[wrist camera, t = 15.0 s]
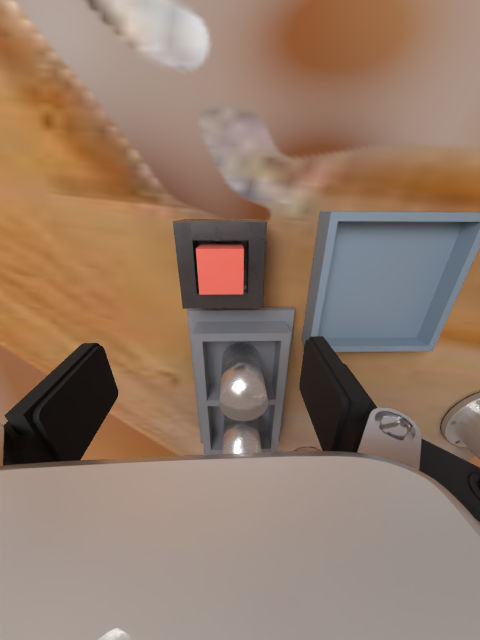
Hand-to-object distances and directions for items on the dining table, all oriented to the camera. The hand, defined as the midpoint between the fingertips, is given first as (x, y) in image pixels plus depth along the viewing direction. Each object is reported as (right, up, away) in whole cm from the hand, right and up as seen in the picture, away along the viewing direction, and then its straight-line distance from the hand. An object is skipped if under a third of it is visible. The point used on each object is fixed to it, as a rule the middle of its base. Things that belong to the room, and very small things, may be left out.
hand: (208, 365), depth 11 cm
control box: (0, +9, +15) cm, 17 cm away
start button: (0, +8, +12) cm, 14 cm away
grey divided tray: (+2, -7, +23) cm, 24 cm away
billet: (+2, -3, +20) cm, 20 cm away
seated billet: (+2, -12, +24) cm, 27 cm away
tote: (+18, +7, +17) cm, 25 cm away
